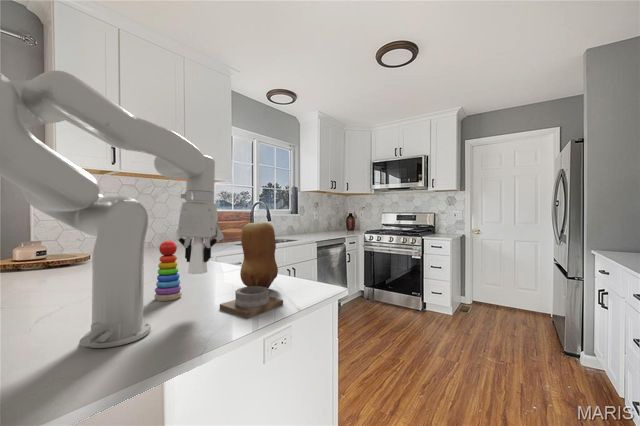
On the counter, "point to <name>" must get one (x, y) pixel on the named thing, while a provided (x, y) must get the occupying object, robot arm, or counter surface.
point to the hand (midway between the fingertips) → (198, 260)
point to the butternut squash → (258, 255)
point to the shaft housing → (251, 302)
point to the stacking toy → (168, 274)
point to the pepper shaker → (197, 257)
